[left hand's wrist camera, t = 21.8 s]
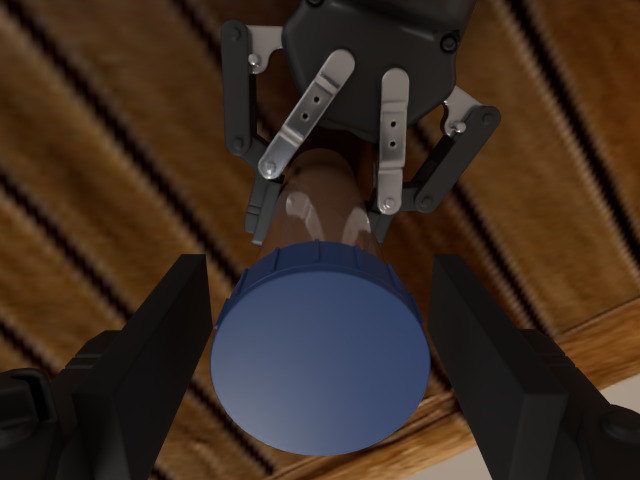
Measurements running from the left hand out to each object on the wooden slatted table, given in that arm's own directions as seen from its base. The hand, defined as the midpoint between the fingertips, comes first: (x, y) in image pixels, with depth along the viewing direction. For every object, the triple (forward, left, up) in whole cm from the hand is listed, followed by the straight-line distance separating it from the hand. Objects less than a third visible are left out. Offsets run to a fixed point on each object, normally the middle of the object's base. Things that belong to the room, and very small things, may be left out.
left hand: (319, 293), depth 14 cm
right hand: (+2, -2, -10) cm, 10 cm away
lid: (0, 0, +4) cm, 4 cm away
